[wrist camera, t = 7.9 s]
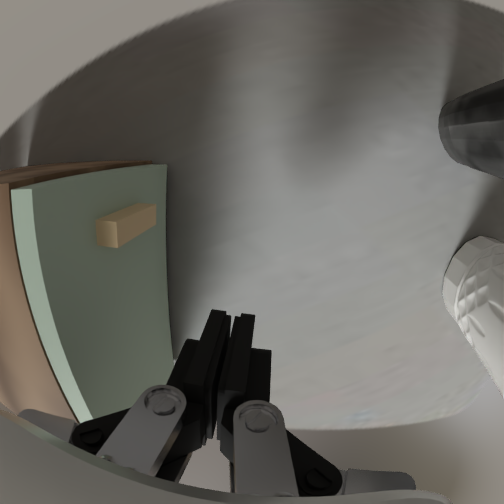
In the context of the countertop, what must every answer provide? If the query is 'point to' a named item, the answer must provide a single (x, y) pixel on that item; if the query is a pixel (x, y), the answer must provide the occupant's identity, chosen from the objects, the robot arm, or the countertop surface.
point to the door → (99, 282)
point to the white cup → (479, 300)
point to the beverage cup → (476, 129)
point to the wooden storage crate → (18, 307)
